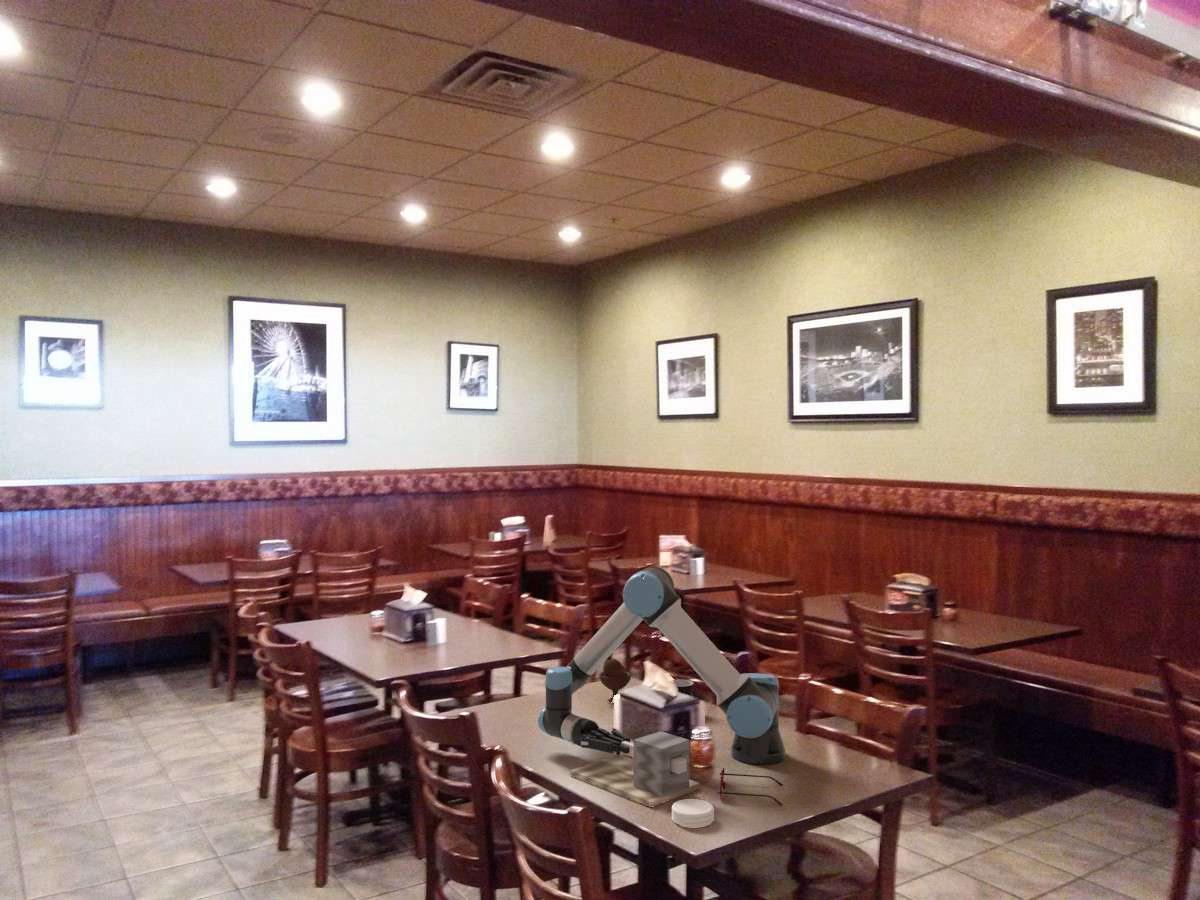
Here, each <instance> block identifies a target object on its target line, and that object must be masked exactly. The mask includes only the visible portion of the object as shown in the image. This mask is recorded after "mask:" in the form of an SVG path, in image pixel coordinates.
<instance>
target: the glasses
mask: <svg viewBox="0 0 1200 900" xmlns="http://www.w3.org/2000/svg"><path fill="white" fill-rule="evenodd" d="M719 775H720V777H719V779H720V781H719V790H717V791H716V794H717V795H719V800H720V799H721V800H722V795H732V796H733V795H736V796H750V797H752V796H753V797H765V798H770V799H772V800H773V801H774V802H776V803H777V804H778V805H779V804H780V805H779V806H781V805H784V803H782V802H780V801H779V800H778V799H776V798H775V797H773V796H771V795H768V794H754V793H750V794H749V793H741V792H739V793H738V792H727V791H726V792H725V791H723V790H725V789H726V784H727V783H726V781H724V779H725V777H724V776H735V777H736V776H737V777H753V778H754V777H755V778H767V779H770V780H772V781H774V782H775V783H777V784H778V785H779V786H781V785H784V784H783V783H781V782H780V781H778V780H777V779H775V777H772V776H767V775H757V774H755V775H753V774H743V773H741V774H740V773H739V774H738V773H726V772H725V767H723V768H722V769H721V771H720V772H719Z"/></svg>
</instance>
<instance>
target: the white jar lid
mask: <svg viewBox="0 0 1200 900" xmlns="http://www.w3.org/2000/svg"><path fill="white" fill-rule="evenodd" d="M672 820H673V821H674V822H675V823H677V824H680V825H683V826H690V827H701V826H706V825H709V824H711V823H712V822H713V821H715V808H714V806H713V805H712V803H710V802H709V801H706V800H702V799H699V798H686V799H680V800H677V801H675V802H674V803H673V804H672V806H671V821H672ZM673 821H672V822H673ZM674 822H673V823H674ZM675 823H674V824H675ZM713 823H714V822H713ZM713 823H712V824H713ZM712 824H711V825H712Z"/></svg>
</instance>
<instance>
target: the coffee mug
mask: <svg viewBox="0 0 1200 900" xmlns="http://www.w3.org/2000/svg"><path fill="white" fill-rule="evenodd" d="M673 680H674V681H675V683H676V685H677V687H678V689H679V692H681V693H685V694H688V695H691V696H692V697H693V692H694V691H693V690H694V681H692V680H688V679H673Z"/></svg>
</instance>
